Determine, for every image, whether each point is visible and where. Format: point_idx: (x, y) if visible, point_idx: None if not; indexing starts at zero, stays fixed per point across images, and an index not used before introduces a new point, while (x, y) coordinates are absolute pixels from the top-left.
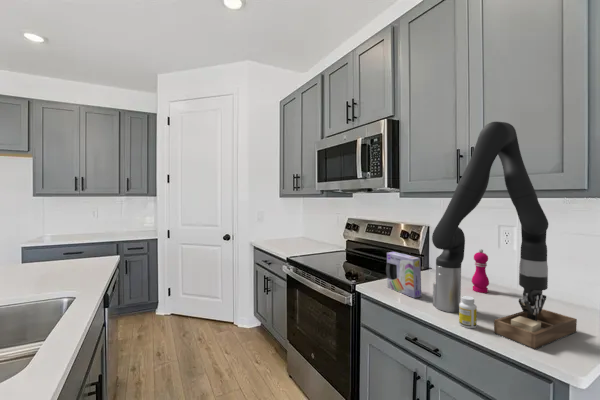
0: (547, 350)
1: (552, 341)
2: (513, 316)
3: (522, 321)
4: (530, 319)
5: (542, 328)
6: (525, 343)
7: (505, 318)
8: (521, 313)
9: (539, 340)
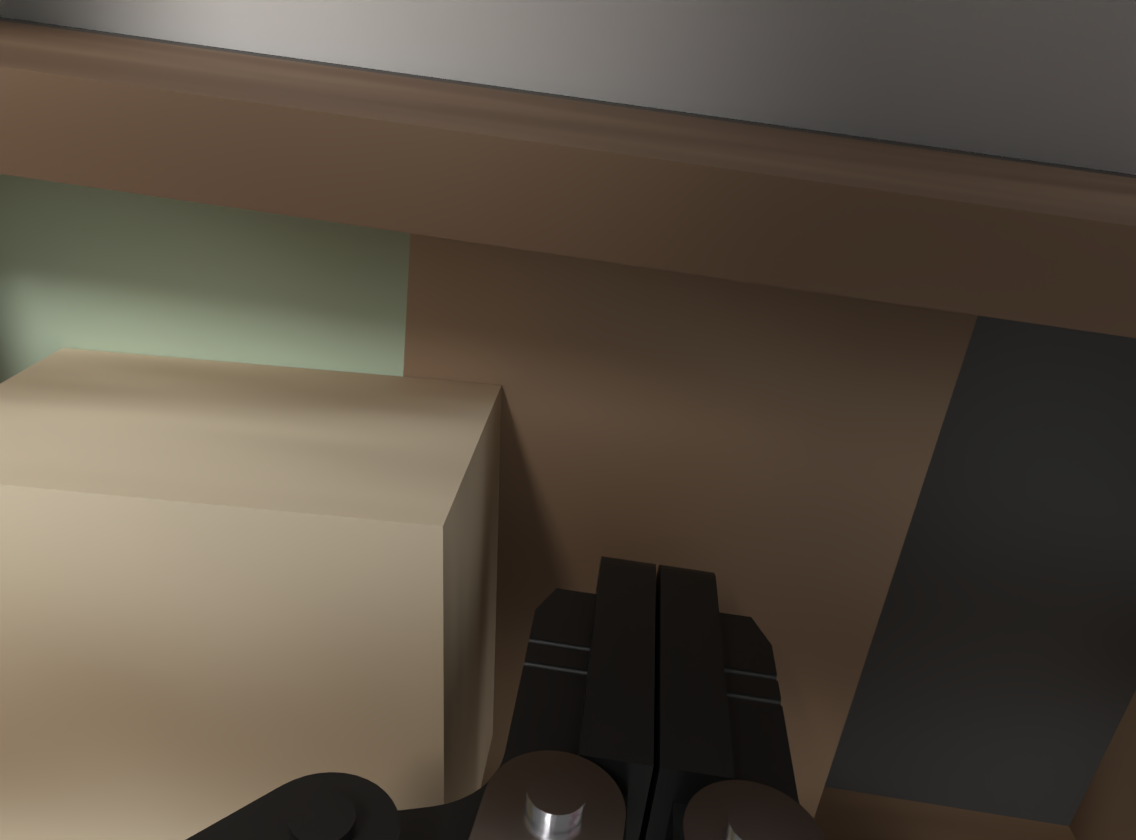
0: None
1: None
2: (592, 253)
3: (57, 690)
4: (416, 772)
5: (828, 696)
6: None
7: (105, 187)
8: (1118, 333)
9: None
